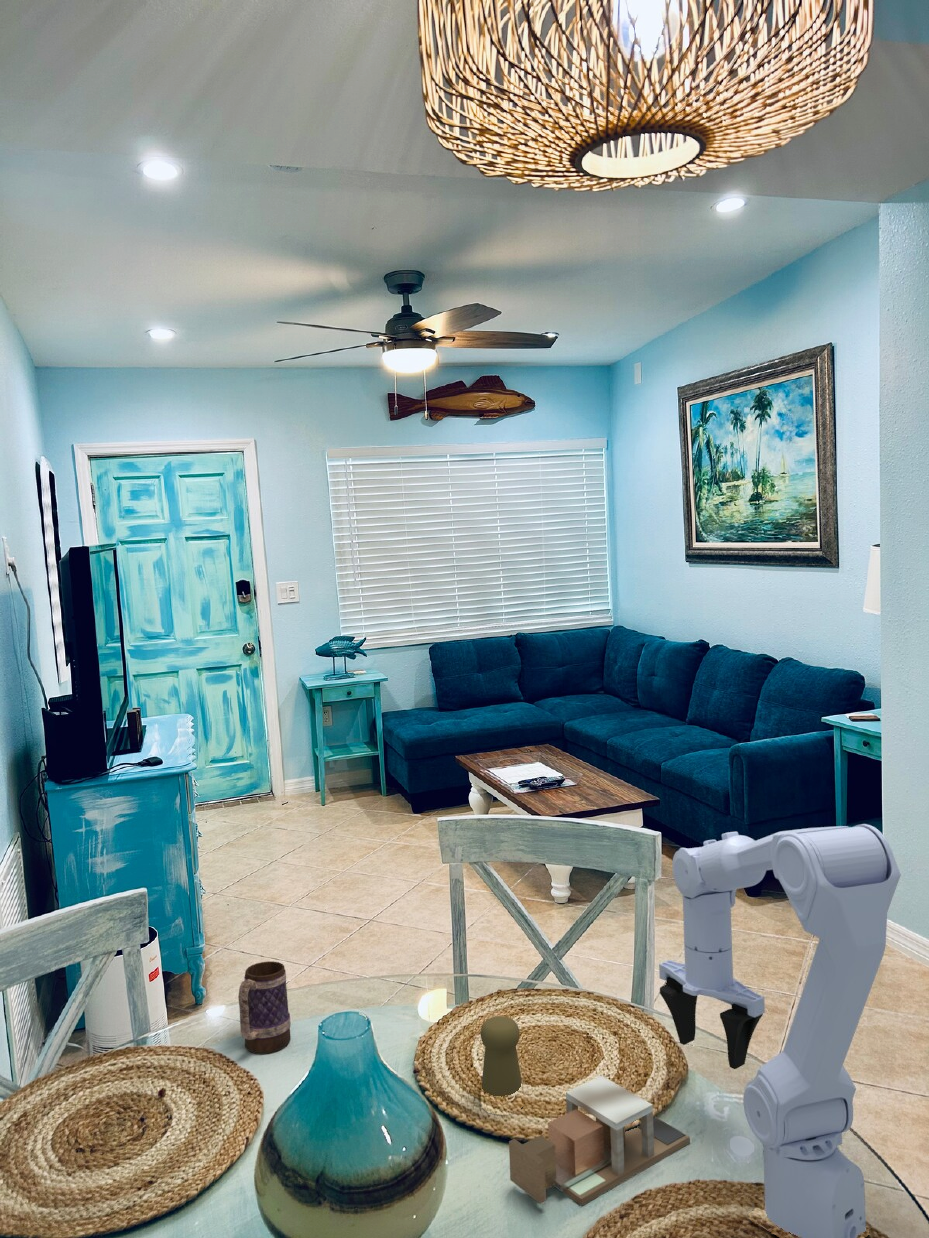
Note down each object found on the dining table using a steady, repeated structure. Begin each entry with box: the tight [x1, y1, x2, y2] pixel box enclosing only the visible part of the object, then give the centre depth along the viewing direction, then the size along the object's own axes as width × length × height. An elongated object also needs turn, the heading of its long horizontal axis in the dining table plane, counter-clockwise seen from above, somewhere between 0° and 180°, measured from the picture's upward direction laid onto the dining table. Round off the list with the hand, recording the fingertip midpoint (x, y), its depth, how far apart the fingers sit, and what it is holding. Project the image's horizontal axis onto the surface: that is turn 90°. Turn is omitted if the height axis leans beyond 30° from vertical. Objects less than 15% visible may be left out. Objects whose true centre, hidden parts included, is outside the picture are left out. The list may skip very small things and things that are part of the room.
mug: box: [237, 960, 292, 1055], centre depth 135 cm, size 10×7×12 cm
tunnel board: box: [554, 1075, 691, 1207], centre depth 106 cm, size 9×18×7 cm, turn 126°
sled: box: [508, 1109, 625, 1204], centre depth 103 cm, size 5×15×5 cm, turn 126°
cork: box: [480, 1015, 523, 1097], centre depth 118 cm, size 6×6×11 cm
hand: (711, 1053), depth 110 cm, fingers open, 7 cm apart
